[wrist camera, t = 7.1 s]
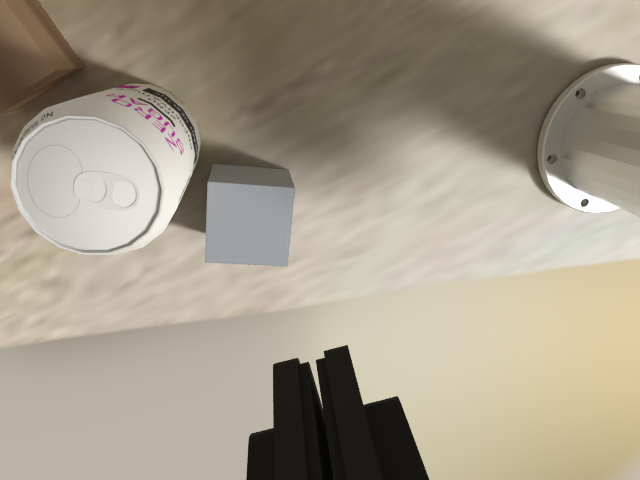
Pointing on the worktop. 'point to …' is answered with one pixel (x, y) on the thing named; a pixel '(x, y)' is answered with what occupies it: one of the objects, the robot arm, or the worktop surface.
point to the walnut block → (31, 53)
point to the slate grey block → (248, 215)
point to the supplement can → (105, 168)
